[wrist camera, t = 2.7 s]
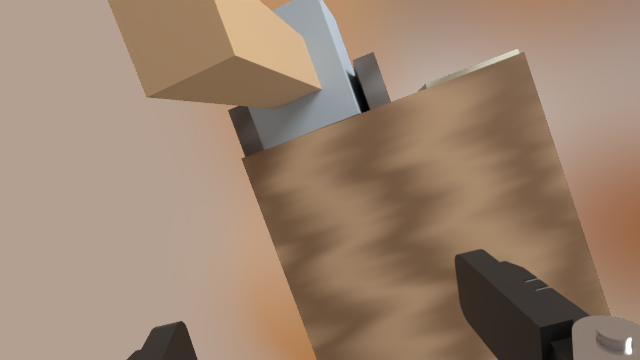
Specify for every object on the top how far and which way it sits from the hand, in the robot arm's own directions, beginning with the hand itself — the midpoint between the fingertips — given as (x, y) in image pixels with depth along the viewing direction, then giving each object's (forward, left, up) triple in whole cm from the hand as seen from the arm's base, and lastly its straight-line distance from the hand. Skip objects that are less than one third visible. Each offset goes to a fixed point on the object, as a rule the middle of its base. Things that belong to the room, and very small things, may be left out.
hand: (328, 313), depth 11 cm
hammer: (0, +8, +6) cm, 10 cm away
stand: (+4, +14, -26) cm, 30 cm away
